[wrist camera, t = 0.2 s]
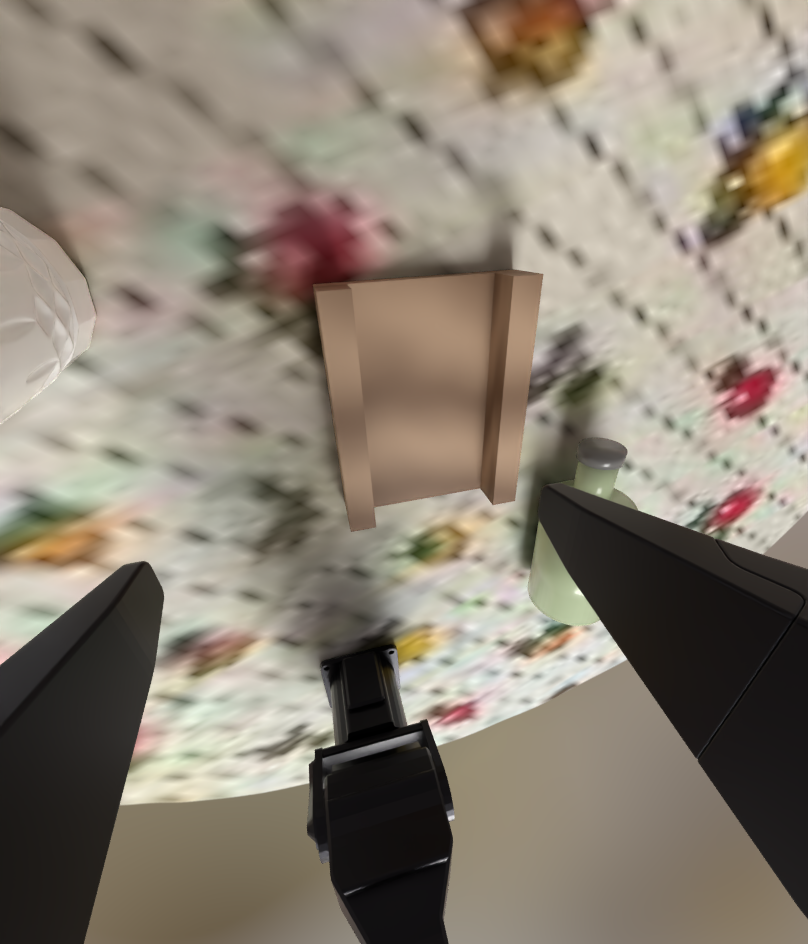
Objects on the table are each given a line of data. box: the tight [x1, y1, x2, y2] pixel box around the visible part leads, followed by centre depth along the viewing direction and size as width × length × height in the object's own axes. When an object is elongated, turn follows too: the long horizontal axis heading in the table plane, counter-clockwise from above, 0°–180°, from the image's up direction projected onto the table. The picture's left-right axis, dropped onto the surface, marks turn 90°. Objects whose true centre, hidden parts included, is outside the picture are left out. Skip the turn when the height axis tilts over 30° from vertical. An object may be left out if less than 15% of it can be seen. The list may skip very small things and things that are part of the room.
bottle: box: [528, 438, 638, 626], centre depth 28 cm, size 13×6×6 cm, turn 2°
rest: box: [313, 270, 543, 532], centre depth 22 cm, size 13×10×3 cm
